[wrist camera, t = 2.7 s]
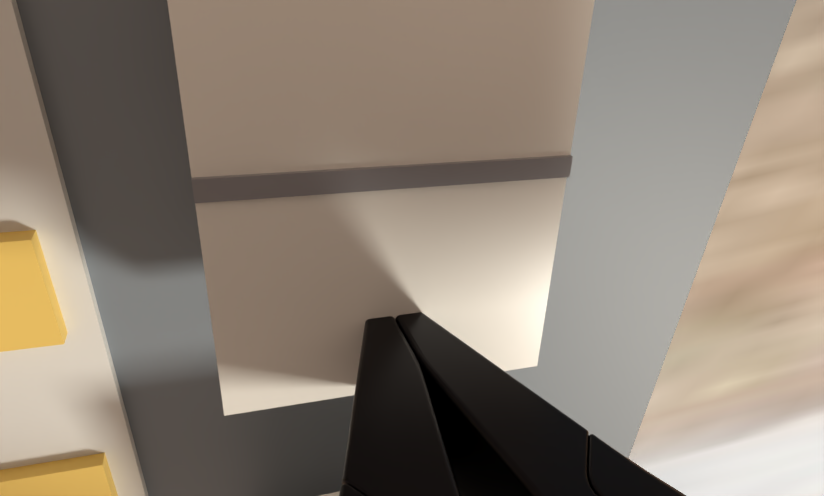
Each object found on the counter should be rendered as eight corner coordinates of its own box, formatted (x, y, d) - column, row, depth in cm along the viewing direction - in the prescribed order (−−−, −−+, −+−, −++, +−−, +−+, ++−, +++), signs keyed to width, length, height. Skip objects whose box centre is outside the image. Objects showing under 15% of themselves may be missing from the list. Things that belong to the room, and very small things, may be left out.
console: (540, 453, 23) (610, 579, 19) (75, 547, 19) (38, 735, 15) (735, -325, 11) (1023, -428, 7) (-347, -527, 7) (-1044, -1014, 3)
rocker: (507, 326, 11) (538, 368, 10) (223, 365, 10) (224, 419, 9) (563, -119, 8) (618, -127, 7) (155, -148, 7) (143, -164, 6)
